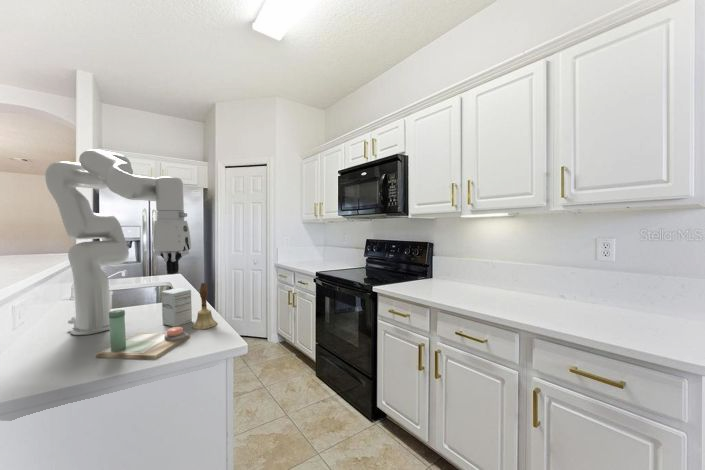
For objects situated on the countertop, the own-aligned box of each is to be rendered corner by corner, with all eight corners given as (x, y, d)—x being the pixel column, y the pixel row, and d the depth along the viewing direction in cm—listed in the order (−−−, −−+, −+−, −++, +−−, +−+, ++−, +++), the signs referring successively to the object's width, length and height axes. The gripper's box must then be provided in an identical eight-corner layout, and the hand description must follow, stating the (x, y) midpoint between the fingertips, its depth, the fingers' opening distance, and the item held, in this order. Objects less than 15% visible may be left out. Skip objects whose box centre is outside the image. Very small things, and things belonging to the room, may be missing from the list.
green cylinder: (106, 351, 89) (104, 313, 88) (117, 346, 92) (116, 309, 92) (119, 351, 88) (117, 314, 88) (129, 346, 92) (128, 310, 91)
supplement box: (161, 324, 115) (160, 291, 114) (180, 318, 121) (179, 287, 120) (173, 327, 111) (172, 293, 110) (192, 321, 118) (191, 289, 117)
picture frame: (96, 357, 88) (95, 350, 88) (138, 335, 104) (138, 329, 103) (155, 358, 86) (155, 352, 86) (189, 336, 102) (189, 331, 102)
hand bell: (187, 328, 110) (185, 285, 109) (202, 321, 118) (201, 280, 117) (207, 330, 109) (206, 285, 108) (221, 322, 117) (220, 281, 116)
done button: (163, 336, 97) (163, 331, 97) (173, 330, 102) (172, 326, 102) (177, 336, 97) (177, 332, 97) (186, 331, 102) (186, 326, 101)
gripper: (199, 216, 100) (201, 271, 101) (156, 216, 101) (158, 271, 103) (185, 216, 93) (188, 275, 94) (139, 216, 94) (142, 275, 95)
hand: (172, 273), depth 98 cm, fingers closed
